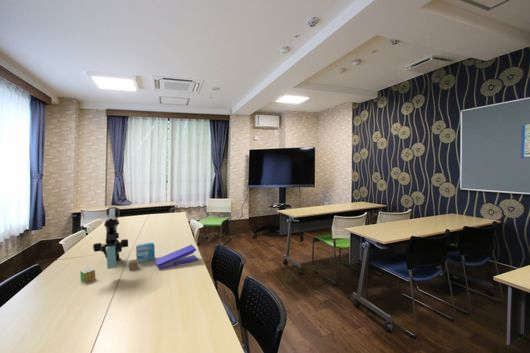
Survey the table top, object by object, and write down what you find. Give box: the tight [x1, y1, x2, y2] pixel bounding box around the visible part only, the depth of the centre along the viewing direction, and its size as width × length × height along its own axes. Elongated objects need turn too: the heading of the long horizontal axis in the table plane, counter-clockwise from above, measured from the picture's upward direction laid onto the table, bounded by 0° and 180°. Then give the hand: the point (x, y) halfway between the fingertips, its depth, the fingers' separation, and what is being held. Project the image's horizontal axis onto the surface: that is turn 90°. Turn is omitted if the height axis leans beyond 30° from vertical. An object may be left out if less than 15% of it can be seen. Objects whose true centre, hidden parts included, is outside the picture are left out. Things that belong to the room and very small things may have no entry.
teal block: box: [106, 245, 117, 270], centre depth 152 cm, size 4×4×13 cm
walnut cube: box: [128, 258, 139, 271], centre depth 166 cm, size 5×5×5 cm
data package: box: [135, 242, 156, 263], centre depth 180 cm, size 12×4×12 cm, turn 120°
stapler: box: [154, 244, 199, 270], centre depth 175 cm, size 12×28×10 cm, turn 124°
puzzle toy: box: [79, 267, 96, 283], centre depth 150 cm, size 6×6×6 cm
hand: (111, 257), depth 150 cm, fingers closed on teal block, 4 cm apart
